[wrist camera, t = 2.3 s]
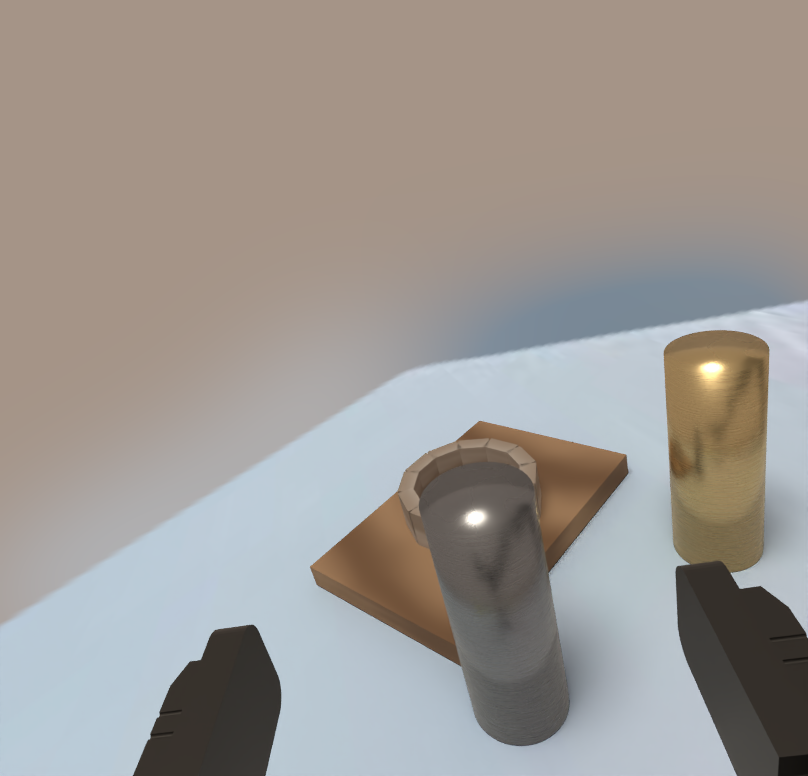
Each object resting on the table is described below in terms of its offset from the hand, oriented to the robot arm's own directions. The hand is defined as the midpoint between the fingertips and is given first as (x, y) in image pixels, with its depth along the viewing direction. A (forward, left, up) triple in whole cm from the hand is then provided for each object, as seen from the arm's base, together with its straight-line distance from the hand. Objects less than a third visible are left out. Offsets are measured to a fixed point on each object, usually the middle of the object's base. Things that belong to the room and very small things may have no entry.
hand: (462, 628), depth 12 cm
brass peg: (-23, -3, -18) cm, 29 cm away
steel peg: (-9, -7, -18) cm, 21 cm away
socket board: (-18, -16, -18) cm, 30 cm away
